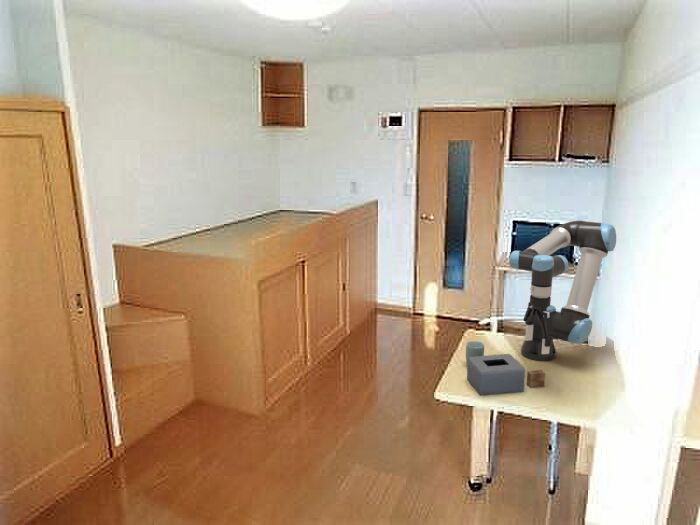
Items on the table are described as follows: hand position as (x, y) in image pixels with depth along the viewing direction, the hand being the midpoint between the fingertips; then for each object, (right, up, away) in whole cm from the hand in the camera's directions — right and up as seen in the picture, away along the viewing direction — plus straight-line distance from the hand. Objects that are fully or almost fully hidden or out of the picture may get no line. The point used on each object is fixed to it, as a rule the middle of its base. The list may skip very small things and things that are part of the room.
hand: (536, 346), depth 204 cm
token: (+1, -16, +4) cm, 17 cm away
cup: (-19, -12, +23) cm, 32 cm away
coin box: (-15, -16, +5) cm, 23 cm away
